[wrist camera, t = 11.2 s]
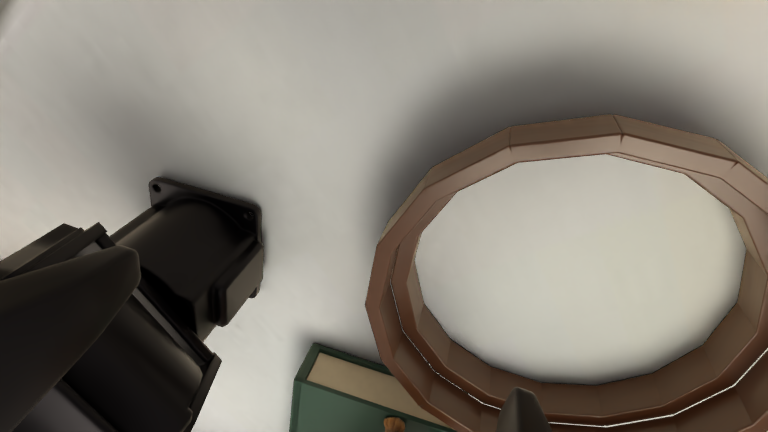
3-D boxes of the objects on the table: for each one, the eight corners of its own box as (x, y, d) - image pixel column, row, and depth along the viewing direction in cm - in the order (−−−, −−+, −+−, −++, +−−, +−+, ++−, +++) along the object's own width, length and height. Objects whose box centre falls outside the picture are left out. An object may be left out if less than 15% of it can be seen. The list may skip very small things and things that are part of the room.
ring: (366, 345, 28) (346, 399, 25) (429, 55, 18) (409, 80, 15) (660, 439, 26) (681, 513, 22) (898, 166, 16) (996, 223, 13)
